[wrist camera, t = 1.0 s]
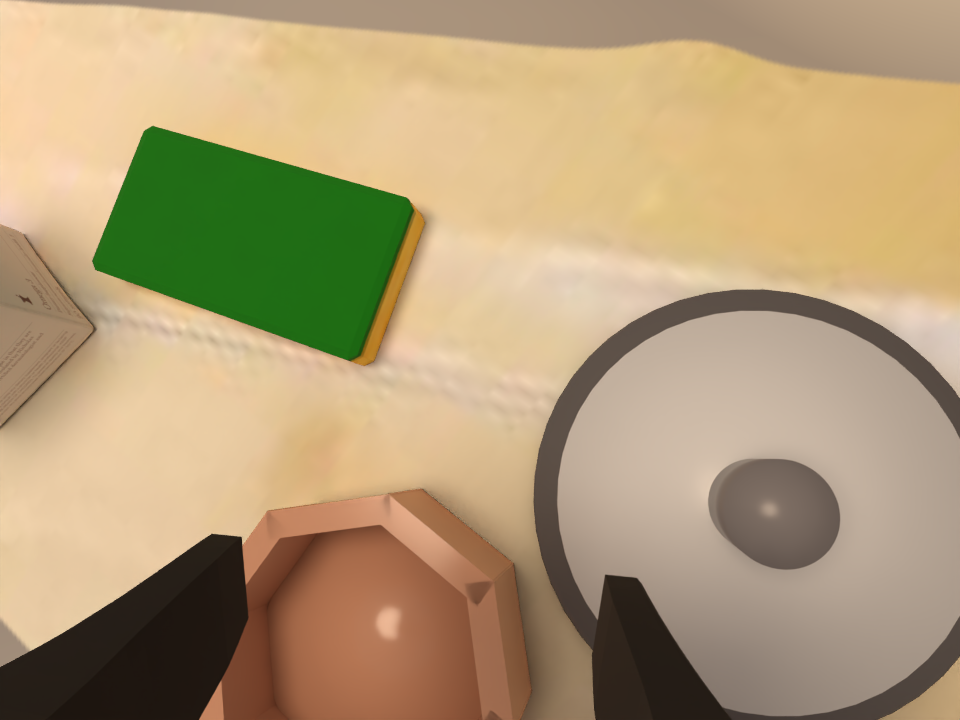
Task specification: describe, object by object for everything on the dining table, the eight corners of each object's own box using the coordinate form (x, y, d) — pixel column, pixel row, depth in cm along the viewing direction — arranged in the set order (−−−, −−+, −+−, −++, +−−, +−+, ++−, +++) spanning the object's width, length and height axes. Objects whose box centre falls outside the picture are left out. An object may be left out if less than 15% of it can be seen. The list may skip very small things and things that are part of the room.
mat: (1097, 458, 23) (1105, 458, 22) (819, 838, 23) (822, 844, 22) (689, 216, 27) (690, 212, 26) (456, 539, 27) (454, 540, 26)
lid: (1058, 464, 22) (1170, 465, 18) (813, 798, 23) (861, 886, 18) (697, 246, 26) (713, 200, 21) (488, 536, 26) (458, 553, 22)
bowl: (584, 619, 25) (576, 649, 21) (408, 861, 25) (368, 934, 22) (361, 439, 28) (320, 436, 24) (205, 657, 28) (138, 688, 24)
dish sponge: (375, 370, 29) (353, 362, 27) (126, 280, 33) (87, 266, 30) (430, 219, 30) (413, 198, 27) (179, 146, 33) (144, 122, 31)
